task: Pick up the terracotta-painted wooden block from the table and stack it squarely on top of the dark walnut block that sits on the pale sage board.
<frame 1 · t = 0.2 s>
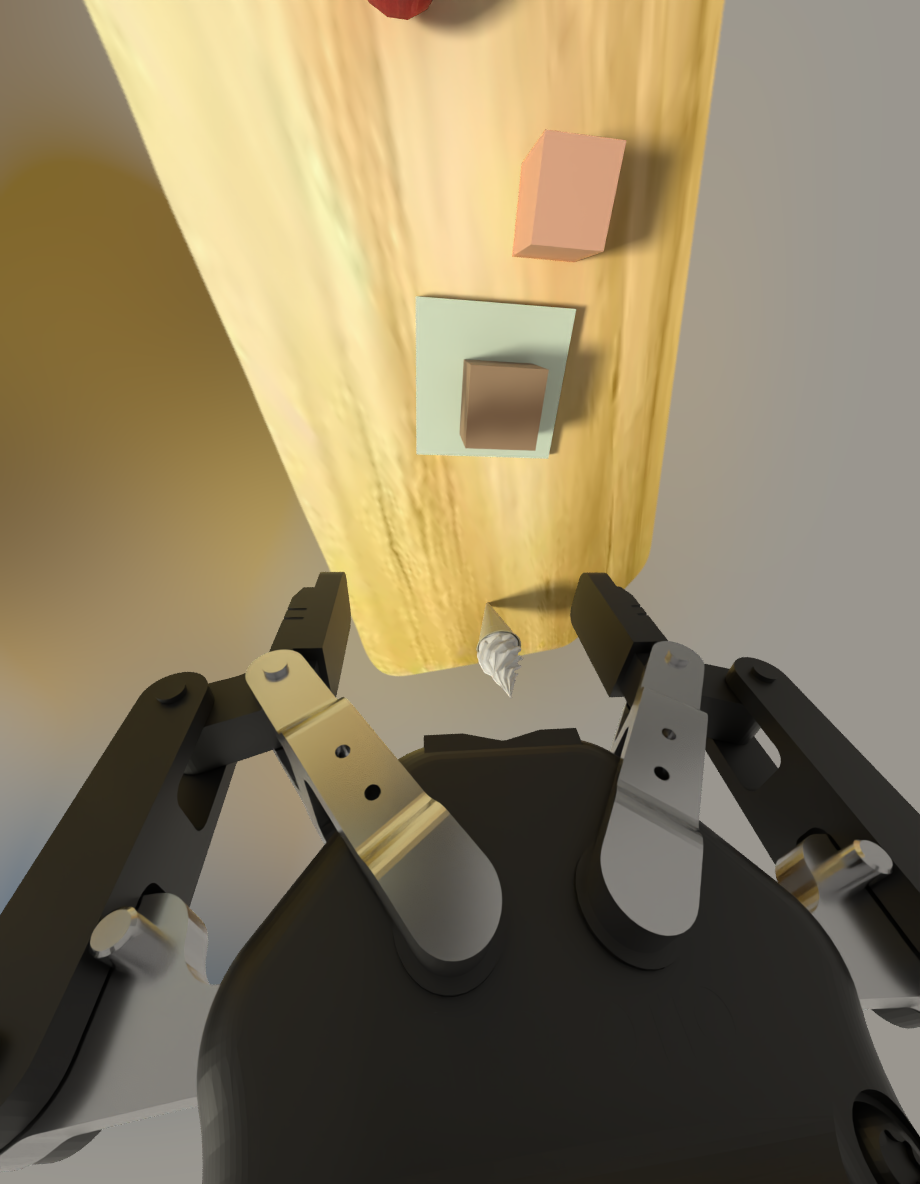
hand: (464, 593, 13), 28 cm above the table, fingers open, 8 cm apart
sage board: (488, 385, 35), on the table
walnut block: (494, 400, 35), point 1 cm above the table, touching sage board
ice cream cone: (487, 603, 50), on the table
terracotta block: (549, 215, 29), on the table
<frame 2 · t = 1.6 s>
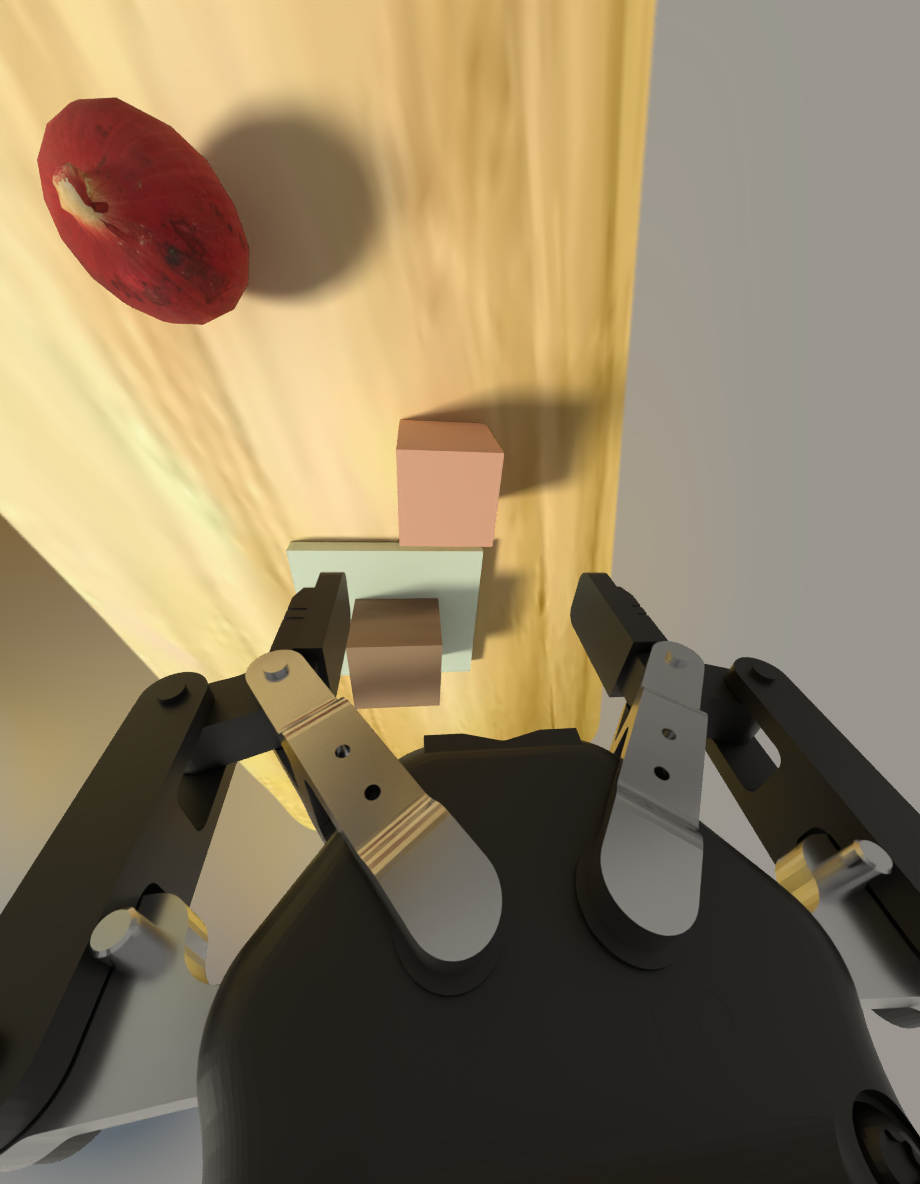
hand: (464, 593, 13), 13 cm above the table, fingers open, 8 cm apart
sage board: (392, 609, 30), on the table
walnut block: (398, 629, 30), point 1 cm above the table, touching sage board
red oval piece: (203, 243, 17), on the table
terracotta block: (441, 464, 24), on the table
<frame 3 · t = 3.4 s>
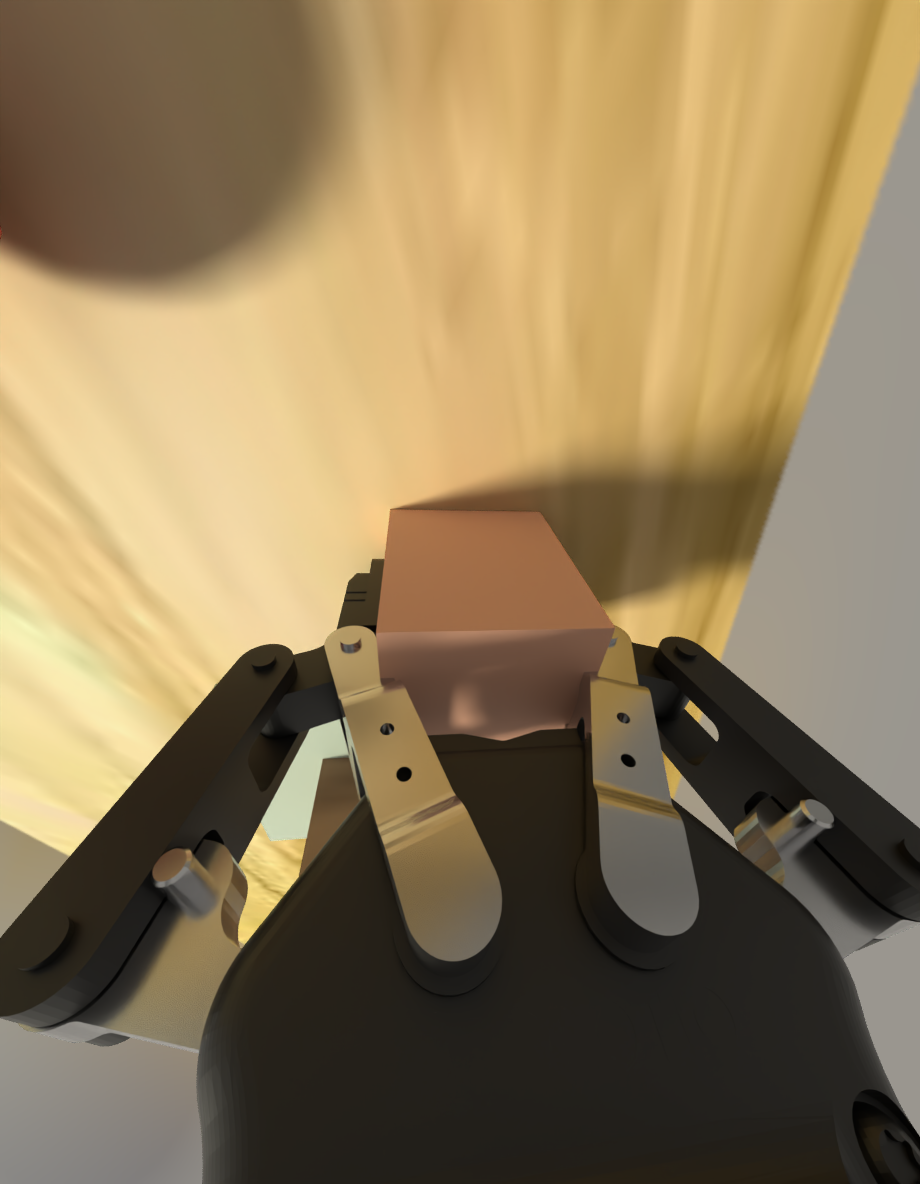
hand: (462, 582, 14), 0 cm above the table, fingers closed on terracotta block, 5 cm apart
sage board: (381, 756, 20), on the table
walnut block: (390, 787, 20), point 1 cm above the table, touching sage board
terracotta block: (462, 574, 14), on the table, touching gripper
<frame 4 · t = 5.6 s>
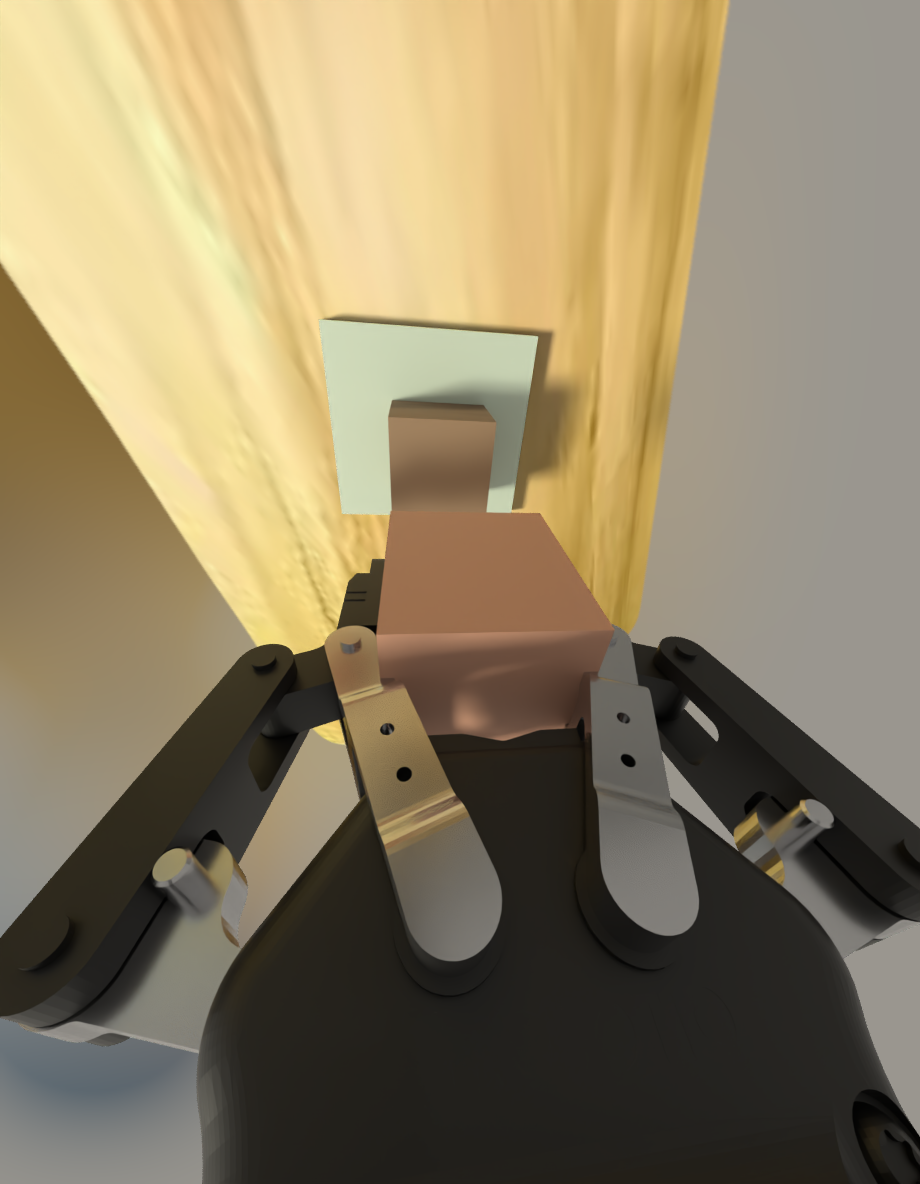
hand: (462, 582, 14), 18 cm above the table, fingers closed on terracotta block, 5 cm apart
sage board: (429, 429, 27), on the table
walnut block: (436, 449, 27), point 1 cm above the table, touching sage board
terracotta block: (462, 575, 14), point 17 cm above the table, touching gripper
when the fingers open (7 cm above the table, at t = 7.9 s): terracotta block stays where it is, resting on walnut block.
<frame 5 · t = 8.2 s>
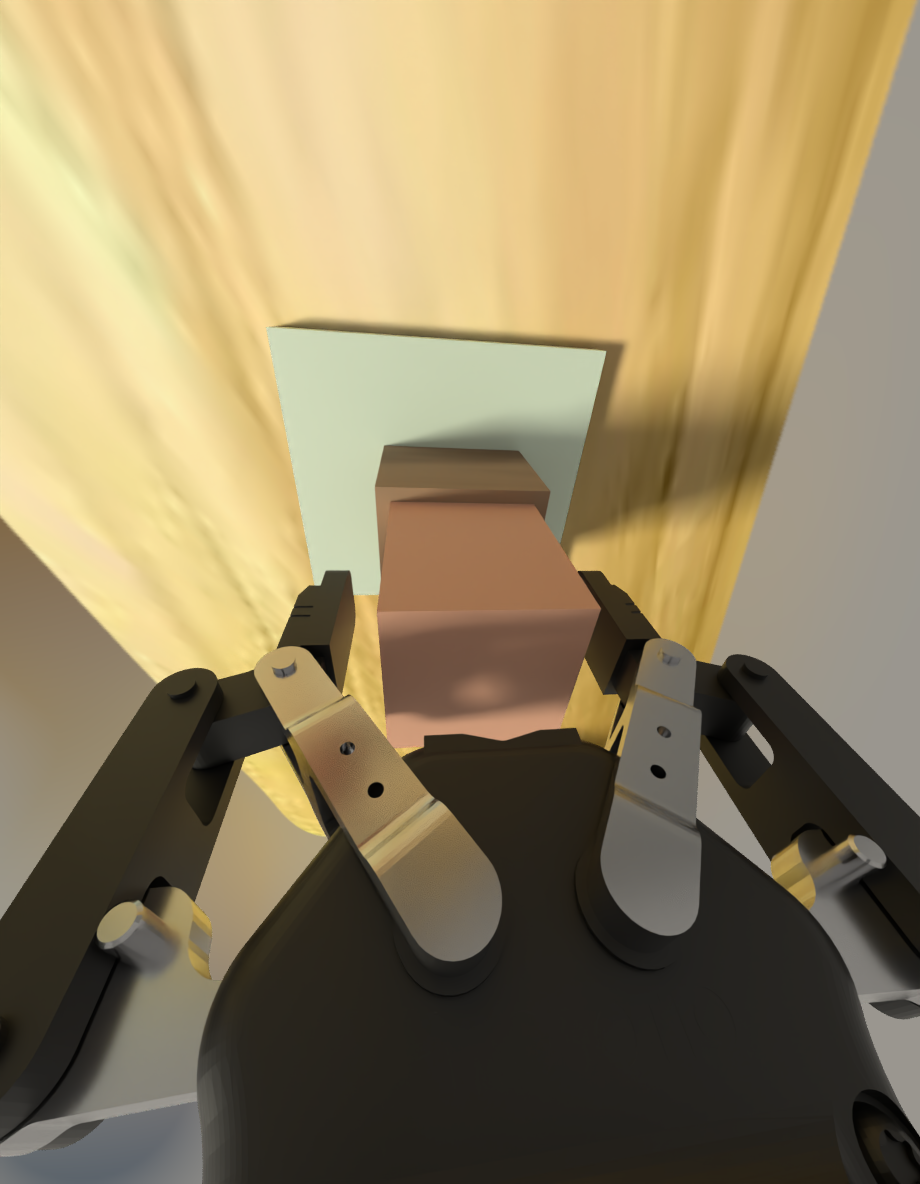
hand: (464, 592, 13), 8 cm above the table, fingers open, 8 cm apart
sage board: (438, 482, 19), on the table
walnut block: (449, 511, 19), point 1 cm above the table, touching sage board, terracotta block
terracotta block: (459, 564, 15), point 6 cm above the table, touching walnut block
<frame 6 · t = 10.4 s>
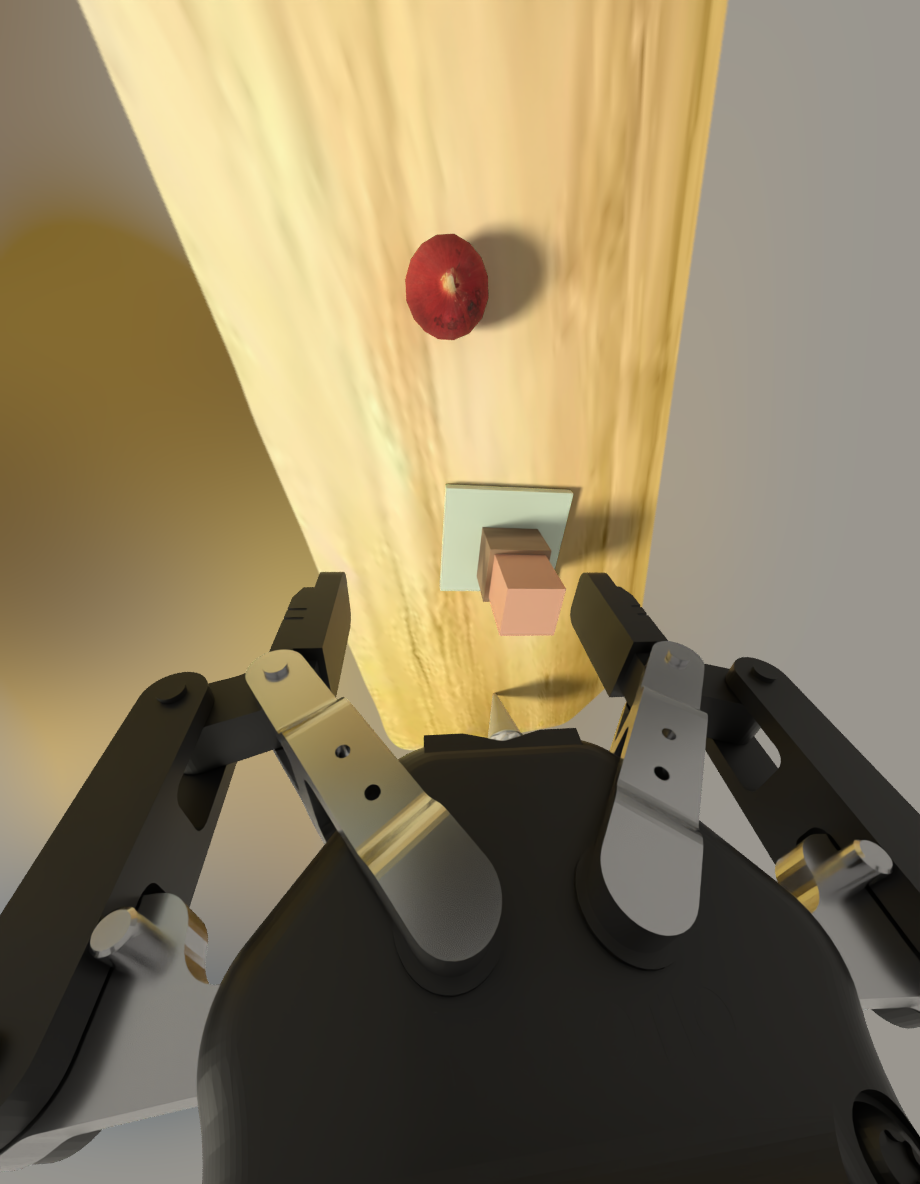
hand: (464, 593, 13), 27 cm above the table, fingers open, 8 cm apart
sage board: (500, 540, 43), on the table
walnut block: (506, 553, 42), point 1 cm above the table, touching sage board, terracotta block
ice cream cone: (494, 693, 57), on the table
red oval piece: (443, 295, 30), on the table
terracotta block: (516, 576, 38), point 6 cm above the table, touching walnut block
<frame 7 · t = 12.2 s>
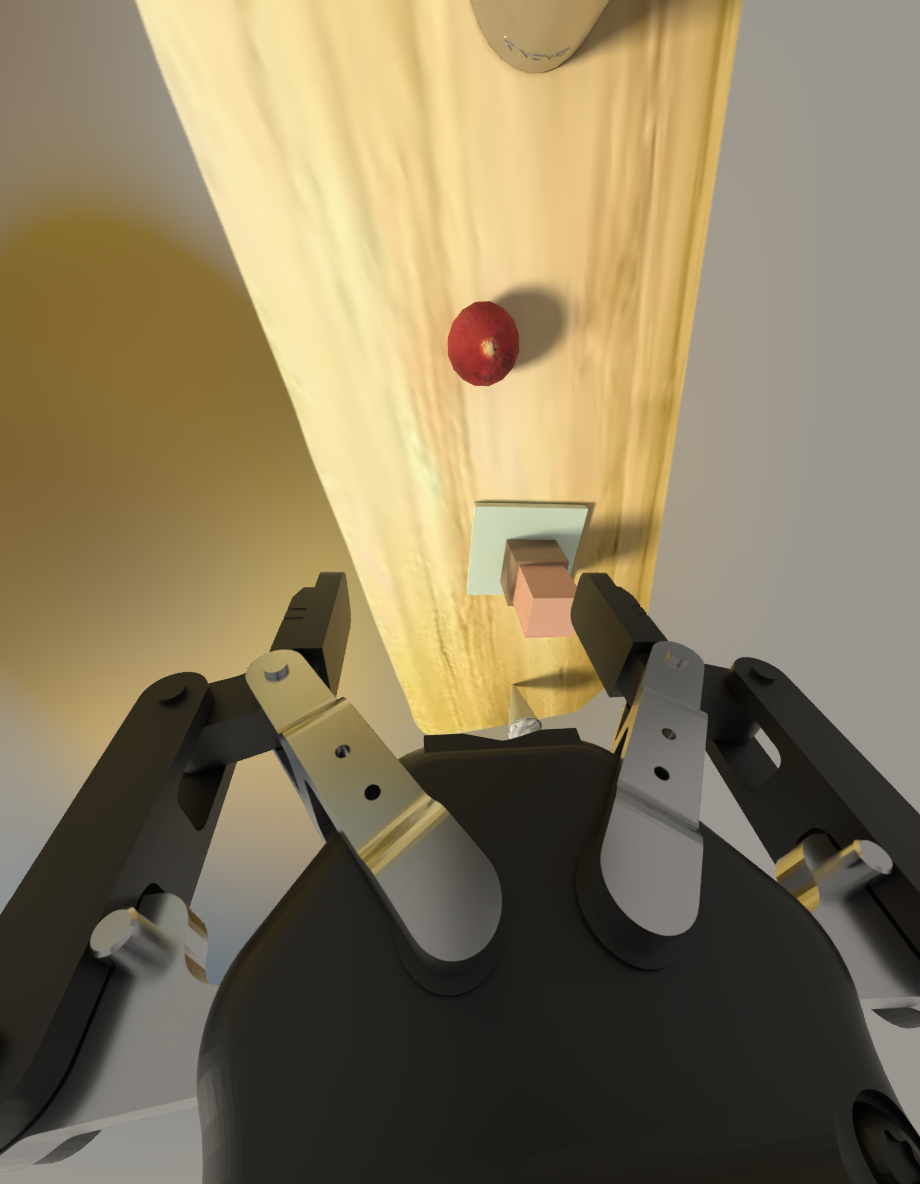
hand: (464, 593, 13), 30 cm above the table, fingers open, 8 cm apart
sage board: (522, 549, 48), on the table
walnut block: (527, 561, 47), point 1 cm above the table, touching sage board, terracotta block
ice cream cone: (512, 684, 62), on the table
red oval piece: (476, 343, 35), on the table
terracotta block: (537, 584, 43), point 6 cm above the table, touching walnut block
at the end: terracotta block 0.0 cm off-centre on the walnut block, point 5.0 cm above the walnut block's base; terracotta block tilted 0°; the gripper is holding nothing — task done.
